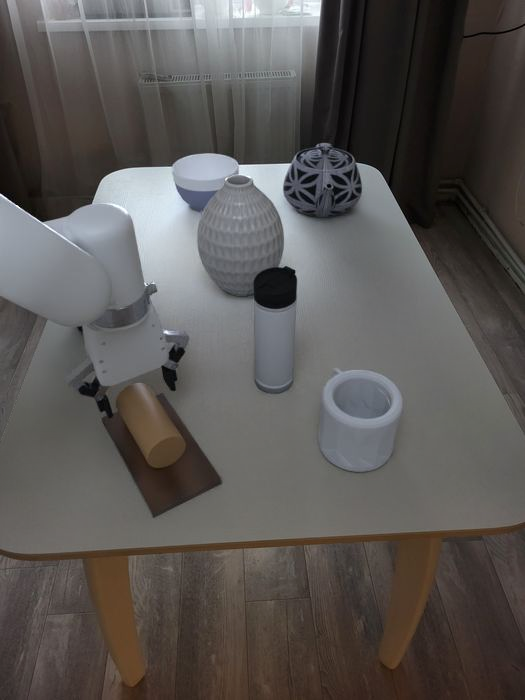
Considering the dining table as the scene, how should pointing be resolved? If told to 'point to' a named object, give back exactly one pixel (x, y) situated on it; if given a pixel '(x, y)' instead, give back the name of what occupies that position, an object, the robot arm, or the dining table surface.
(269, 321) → the travel mug
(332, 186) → the teapot
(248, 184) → the vase
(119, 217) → the robot arm
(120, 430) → the holder
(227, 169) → the bowl
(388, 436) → the mug
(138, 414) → the paper roll
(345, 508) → the dining table surface
